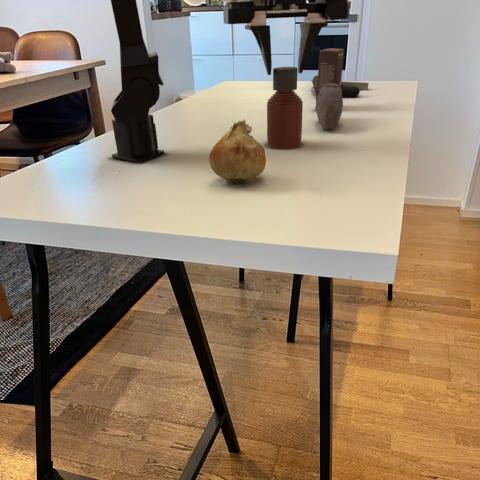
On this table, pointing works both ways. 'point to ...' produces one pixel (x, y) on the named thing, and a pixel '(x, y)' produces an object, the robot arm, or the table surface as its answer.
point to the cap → (285, 78)
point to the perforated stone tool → (329, 105)
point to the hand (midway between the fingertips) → (284, 73)
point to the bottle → (284, 120)
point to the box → (329, 68)
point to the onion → (238, 155)
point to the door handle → (345, 87)
